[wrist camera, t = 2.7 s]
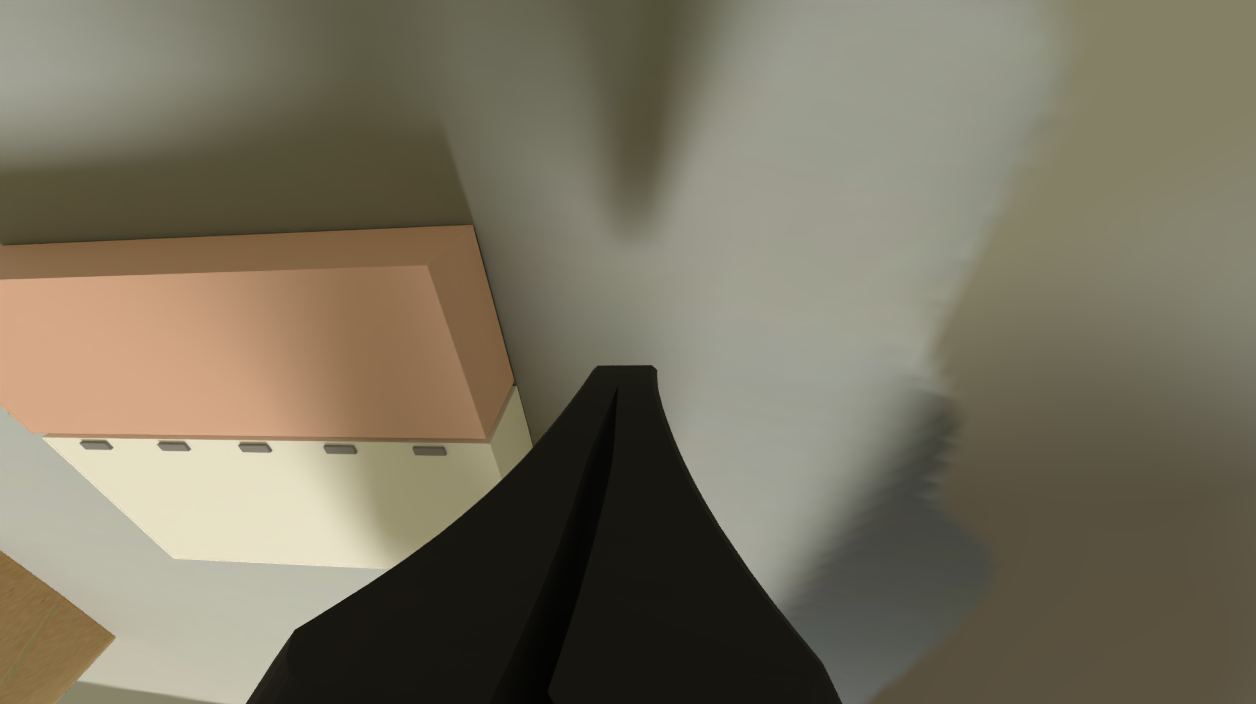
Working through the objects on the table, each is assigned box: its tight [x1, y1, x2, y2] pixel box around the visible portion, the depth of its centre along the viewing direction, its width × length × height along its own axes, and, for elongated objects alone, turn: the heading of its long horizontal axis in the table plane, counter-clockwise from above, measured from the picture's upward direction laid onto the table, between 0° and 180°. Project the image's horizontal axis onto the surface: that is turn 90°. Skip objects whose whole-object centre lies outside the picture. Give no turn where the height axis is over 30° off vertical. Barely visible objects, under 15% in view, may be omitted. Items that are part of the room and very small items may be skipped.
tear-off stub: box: [0, 225, 514, 439], centre depth 14 cm, size 6×16×3 cm, turn 94°
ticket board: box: [42, 386, 533, 569], centre depth 18 cm, size 7×16×3 cm, turn 94°
